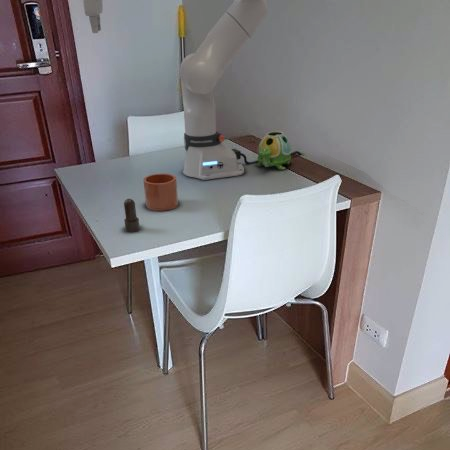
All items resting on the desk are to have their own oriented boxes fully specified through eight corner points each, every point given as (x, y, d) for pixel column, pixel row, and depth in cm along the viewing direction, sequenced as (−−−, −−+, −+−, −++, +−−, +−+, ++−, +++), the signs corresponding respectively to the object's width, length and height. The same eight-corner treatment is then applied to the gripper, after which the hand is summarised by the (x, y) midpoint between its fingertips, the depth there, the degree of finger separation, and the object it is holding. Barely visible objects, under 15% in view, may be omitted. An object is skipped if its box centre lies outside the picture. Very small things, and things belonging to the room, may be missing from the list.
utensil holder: (177, 198, 159) (175, 172, 154) (179, 209, 151) (177, 182, 146) (146, 200, 158) (143, 174, 153) (146, 212, 150) (143, 185, 145)
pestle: (139, 225, 141) (136, 195, 136) (139, 231, 138) (136, 201, 133) (125, 226, 141) (121, 196, 136) (125, 232, 137) (121, 202, 132)
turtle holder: (246, 172, 180) (247, 139, 174) (265, 158, 194) (266, 127, 187) (278, 176, 175) (279, 142, 169) (295, 162, 189) (297, 130, 182)
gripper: (97, -23, 135) (104, 34, 142) (102, -22, 152) (109, 29, 160) (74, -23, 134) (82, 34, 142) (82, -21, 151) (89, 29, 159)
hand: (96, 31), depth 151 cm, fingers open, 8 cm apart
